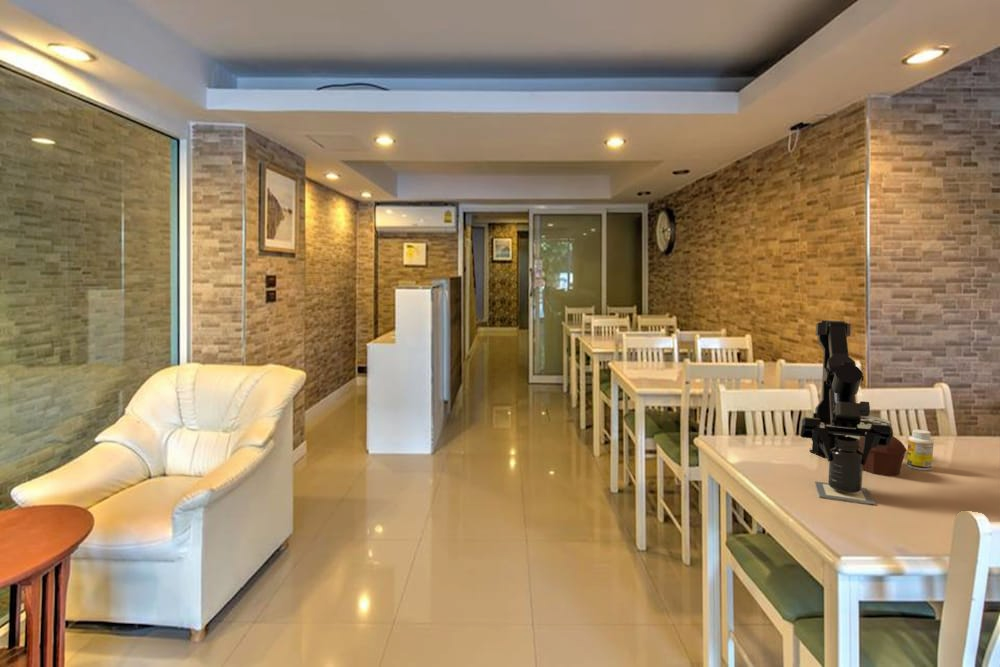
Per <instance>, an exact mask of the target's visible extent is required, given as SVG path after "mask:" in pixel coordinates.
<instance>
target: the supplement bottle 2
mask: <svg viewBox="0 0 1000 667" xmlns="http://www.w3.org/2000/svg"><path fill="white" fill-rule="evenodd" d="M934 443H935V442H934V440H933V439H932V438H931V432H930V431H929V430H926V429H925V430H924V429H917V428H915V429H912V434H911V435H910V436H909V437H908V440H907V451H906V453H907V454H906V455H907V456H906V466H907V467H909V468H911V469H913V470H916V469H918V471H930V470H931V469H932V467H933V466H932V465H933V457H934V456H933V454H934Z"/></svg>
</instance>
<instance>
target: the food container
mask: <svg viewBox="0 0 1000 667" xmlns="http://www.w3.org/2000/svg"><path fill="white" fill-rule="evenodd" d="M872 423H873V424H884V425H889V426H890V427H891V428H892V424H891V421H890V420H888V419H885V418H881V417H876V416H869V415H868V416H861V417H860V425H858V428H864V429H870V428H871V425H872ZM892 429H893V428H892ZM847 437H853V438H856V439H858V440H859V439H860V438H861V437H858V436H848V435H847Z"/></svg>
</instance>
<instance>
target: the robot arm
mask: <svg viewBox="0 0 1000 667" xmlns="http://www.w3.org/2000/svg"><path fill="white" fill-rule="evenodd" d="M815 324H816V325H815V336H817V343H818V344H819V346H820V347H821V349H822V351H823V352H822V354H823V355H822V378H821V379H822V382H821V385H822V386H821V400H820V402H819V403H818V404H817V405H816V407H815V408H814V409H815V410H814V412H812V416H811V417H809V416H808V417H807V416H804V417H803V418H802V419H801V423H800V429H799V432H800V433H799V434H800V435H799V436H800V437H801V438H803V439H811V441H812V442H811V443H812V445H811V446H812V447H811V449H809V450H808V451H809V452H811V453H812V454H814V455H817V456H820V457H821V458H826V459H827V461H828V462H829V461H831V449H833V448H834V447H836V445H835V439H836V437H838V436H847V437H848V436H858V437H864V441H863V444H862V454H863V465H865V463H866V459H867V456H868V453H869V452H870V450H871V448H876V447H877V446H888V445H889V443H890V440H891V438H892V436H894V432H893V428H891V427H892V426H891V427H890V426H889V425H884V424H873V423H872V425H871V428H870V429H864V428H858V425H860V417H861V416H869V415H871V407H870V402H869V401H860V402H859V403H858V402H857V397H856V396H857V394H858V392H859V389H860V386H861V384H862V382H864V377H865V376H864V375H863V372H862V370H861V369H860V368H859V367H858V366H857V364H856V361H855V360H854V359H853V358H852V357H850V355H849V348H848V347H849V346H848V339H847V338H849V337H851V328H852V323H848V322H846V321H845V320H825V319H821V320H820V322H817V323H815Z"/></svg>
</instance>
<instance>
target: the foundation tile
mask: <svg viewBox="0 0 1000 667" xmlns="http://www.w3.org/2000/svg"><path fill="white" fill-rule="evenodd" d="M814 484H815V488H816V491H817V494H818V497H819V499H825V498H827V500H832V499H835V500H834V501H840V500H842V502H847V501H850V502H849V503H854V502H857V503H856V504H861V503H864V504H863V505H868V504H873V505H872V506H876V502H875V501H874V499H873V497H872V495H871V494H870V492H869V490H868V488H867V487H862V488H861V490H860V491H859V492H855V493H849V492H842V491H838V490H835V489H833V488H831V487H830V486H829V484H828V482H822V481H814Z"/></svg>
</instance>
